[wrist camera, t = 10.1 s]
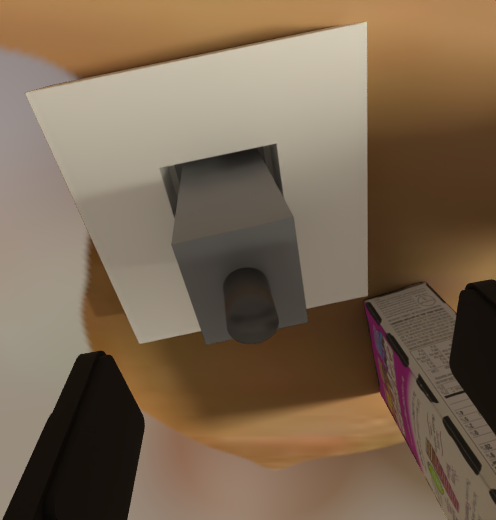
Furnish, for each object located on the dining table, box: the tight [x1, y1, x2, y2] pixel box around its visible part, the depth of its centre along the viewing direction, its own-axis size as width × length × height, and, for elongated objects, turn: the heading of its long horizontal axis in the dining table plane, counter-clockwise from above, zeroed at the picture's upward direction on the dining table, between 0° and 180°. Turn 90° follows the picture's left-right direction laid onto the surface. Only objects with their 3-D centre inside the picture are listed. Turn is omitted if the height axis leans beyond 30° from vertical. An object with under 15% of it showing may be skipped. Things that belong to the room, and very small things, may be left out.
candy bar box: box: [364, 282, 496, 520], centre depth 22 cm, size 11×5×16 cm, turn 17°
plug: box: [171, 148, 308, 345], centre depth 16 cm, size 4×4×11 cm
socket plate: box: [25, 22, 368, 344], centre depth 19 cm, size 14×14×4 cm
